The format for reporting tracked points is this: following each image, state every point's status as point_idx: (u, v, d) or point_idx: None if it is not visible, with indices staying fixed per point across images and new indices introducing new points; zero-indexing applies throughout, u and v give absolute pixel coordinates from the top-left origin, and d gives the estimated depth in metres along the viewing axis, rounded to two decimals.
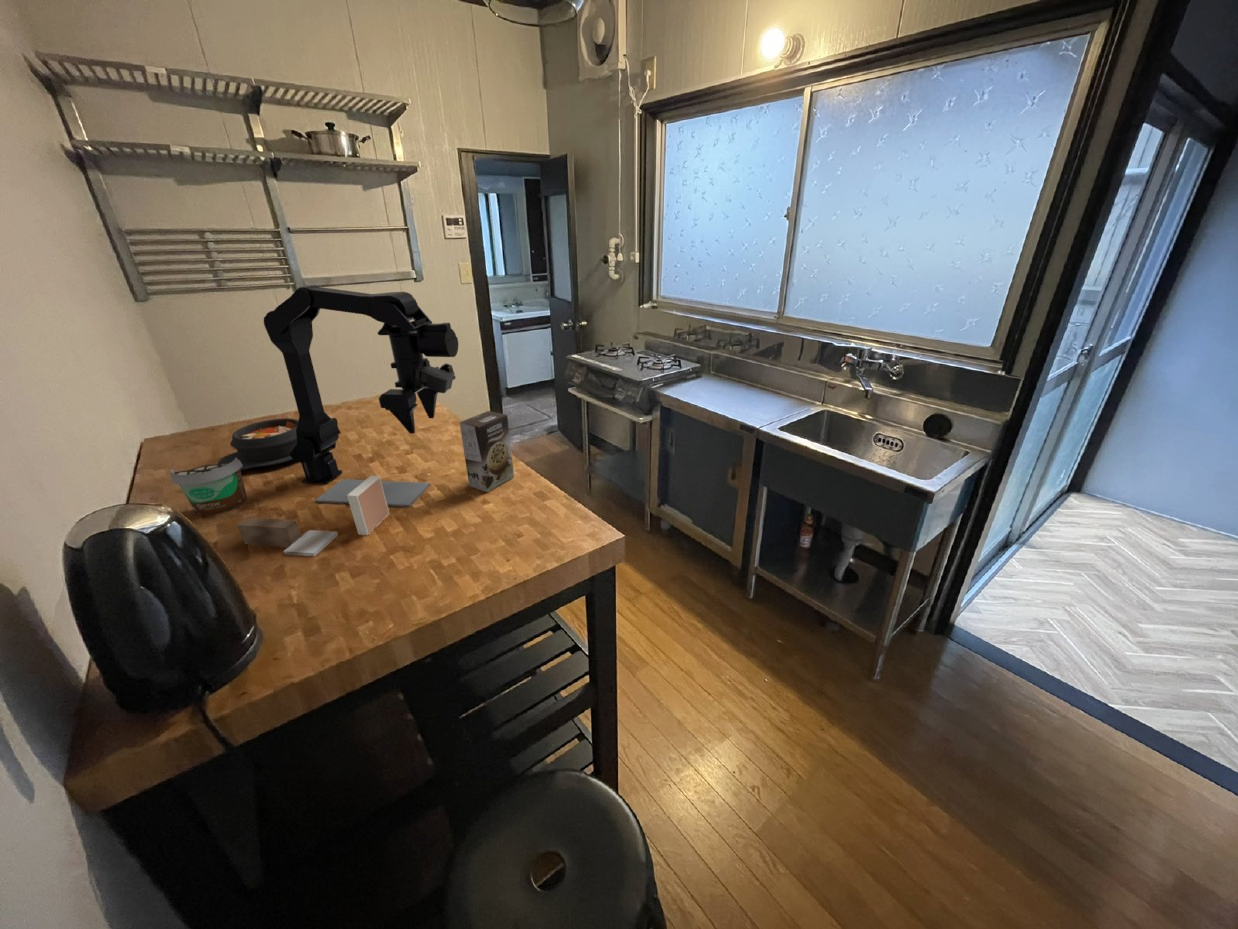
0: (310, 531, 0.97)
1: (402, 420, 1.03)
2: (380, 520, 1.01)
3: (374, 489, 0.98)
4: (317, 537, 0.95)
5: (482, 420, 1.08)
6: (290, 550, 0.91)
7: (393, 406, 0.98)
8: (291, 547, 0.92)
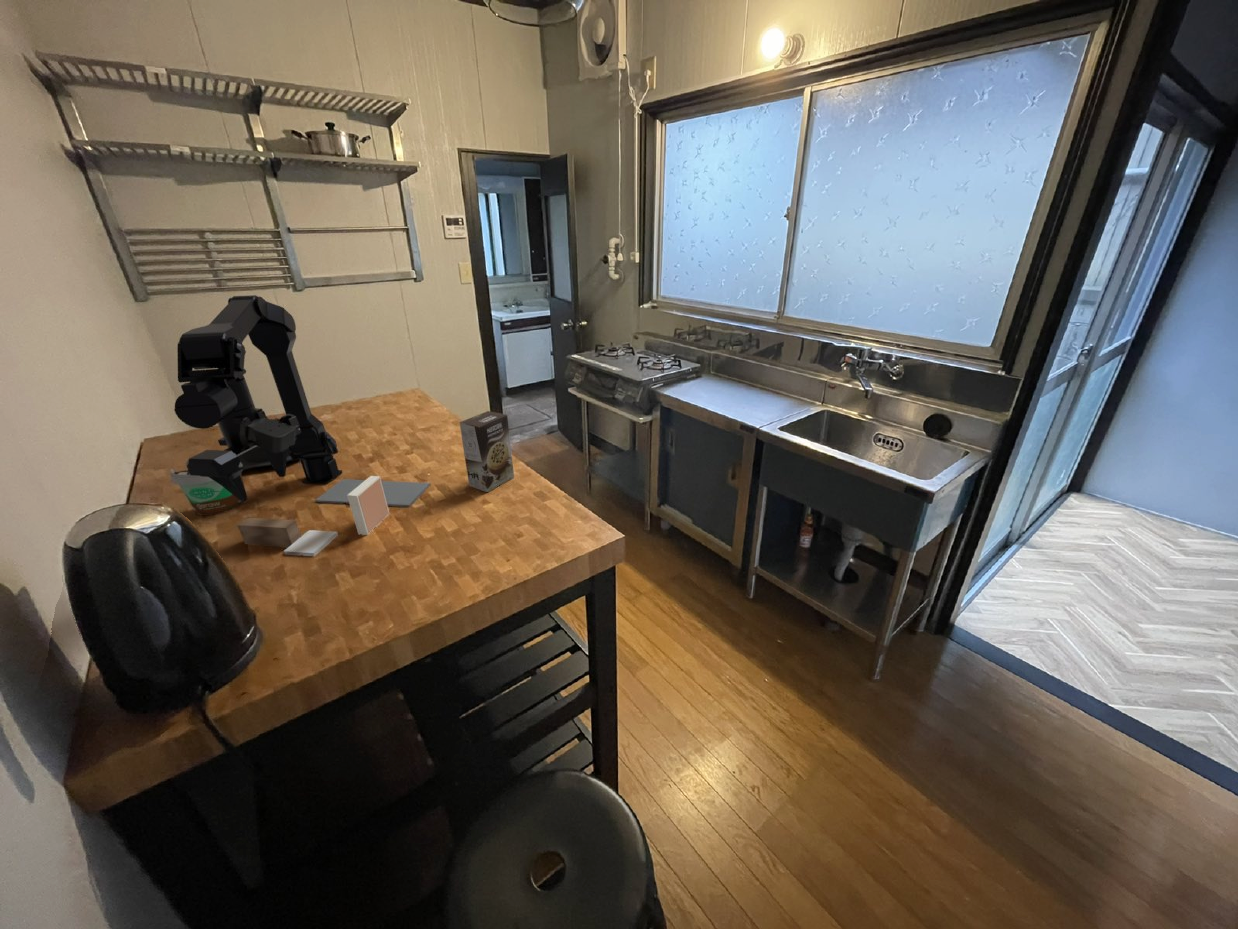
0: (310, 531, 0.97)
1: (227, 486, 0.83)
2: (380, 520, 1.01)
3: (374, 489, 0.98)
4: (317, 537, 0.95)
5: (482, 420, 1.08)
6: (290, 550, 0.91)
7: (204, 473, 0.78)
8: (291, 547, 0.92)
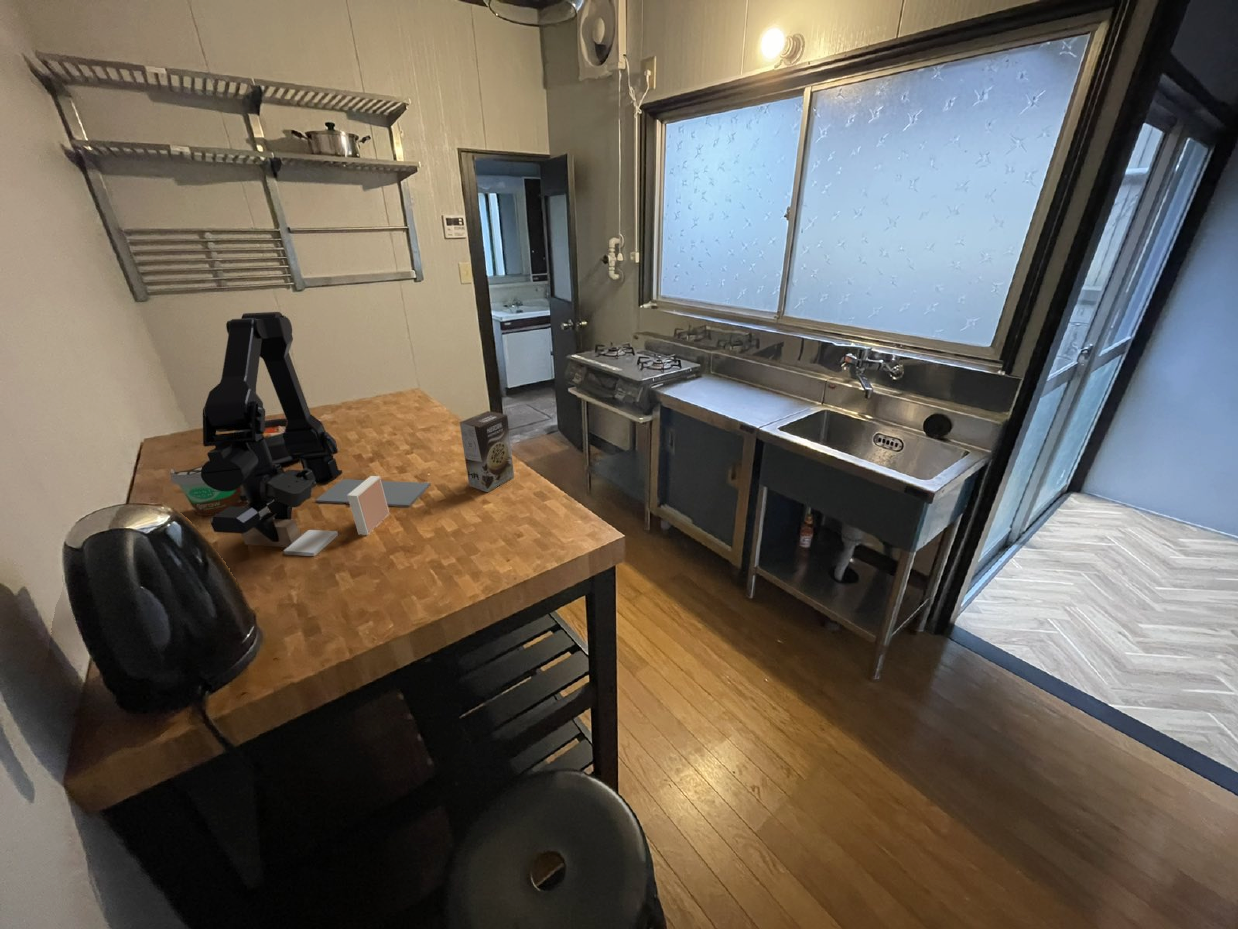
0: (310, 531, 0.97)
1: (261, 530, 0.91)
2: (380, 520, 1.01)
3: (374, 489, 0.98)
4: (317, 537, 0.95)
5: (482, 420, 1.08)
6: (290, 549, 0.91)
7: (227, 530, 0.83)
8: (291, 547, 0.92)
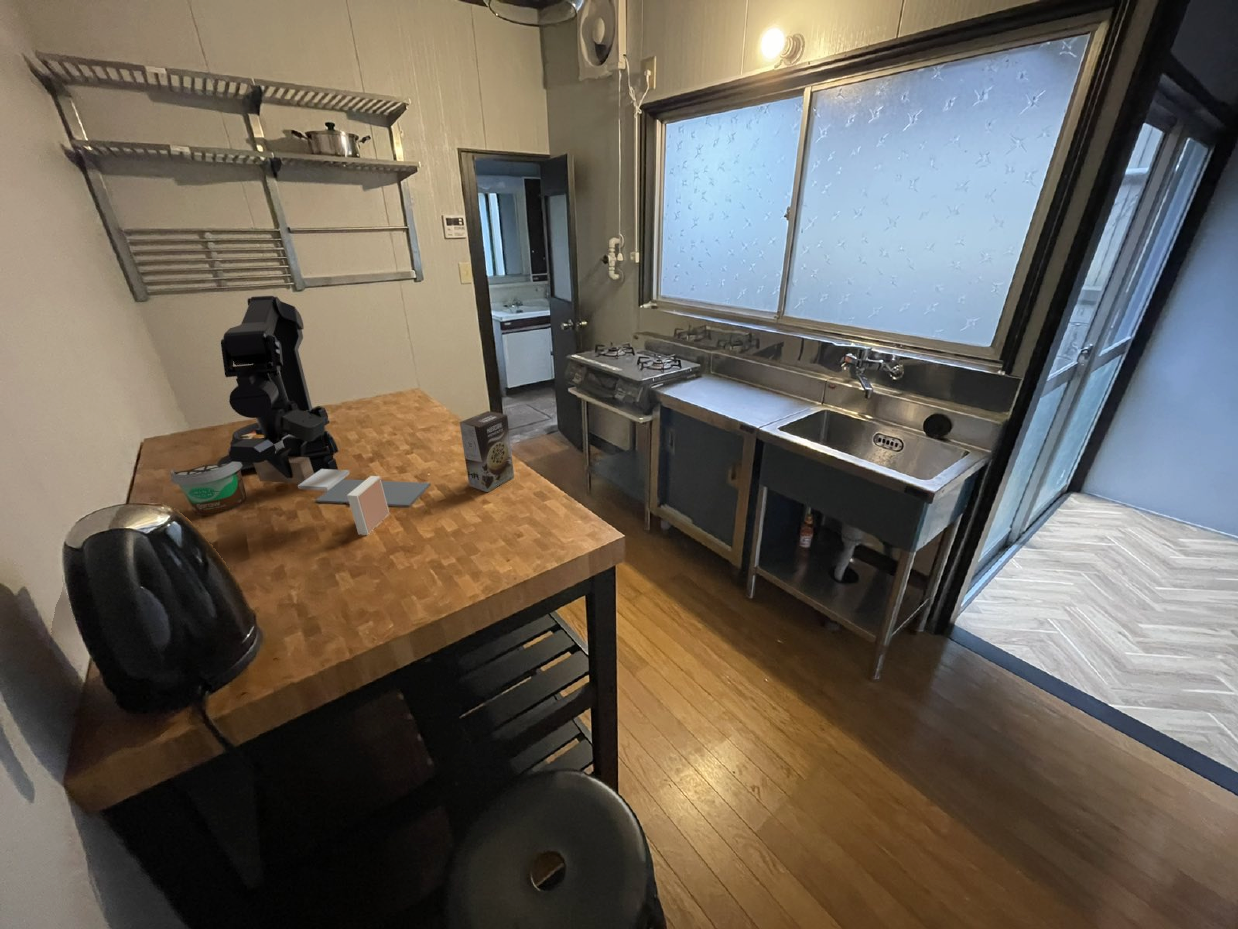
0: (322, 470, 1.00)
1: (275, 465, 0.94)
2: (380, 520, 1.01)
3: (374, 489, 0.98)
4: (329, 474, 0.98)
5: (482, 420, 1.08)
6: (304, 484, 0.94)
7: (244, 460, 0.86)
8: (304, 482, 0.95)
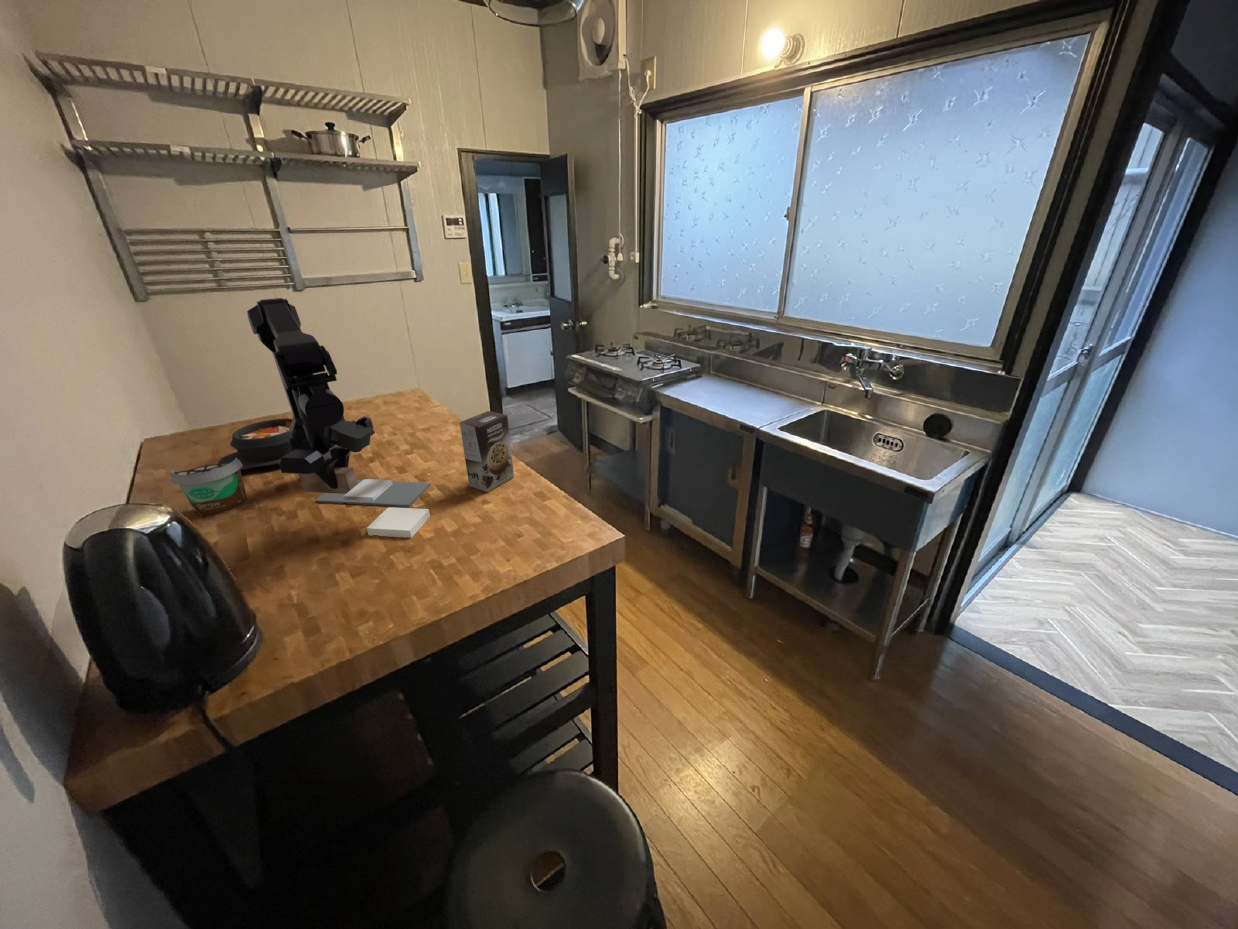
0: (365, 480, 1.00)
1: (321, 475, 0.93)
2: None
3: None
4: (373, 485, 0.98)
5: (482, 420, 1.08)
6: (349, 495, 0.94)
7: (294, 471, 0.85)
8: (350, 493, 0.95)
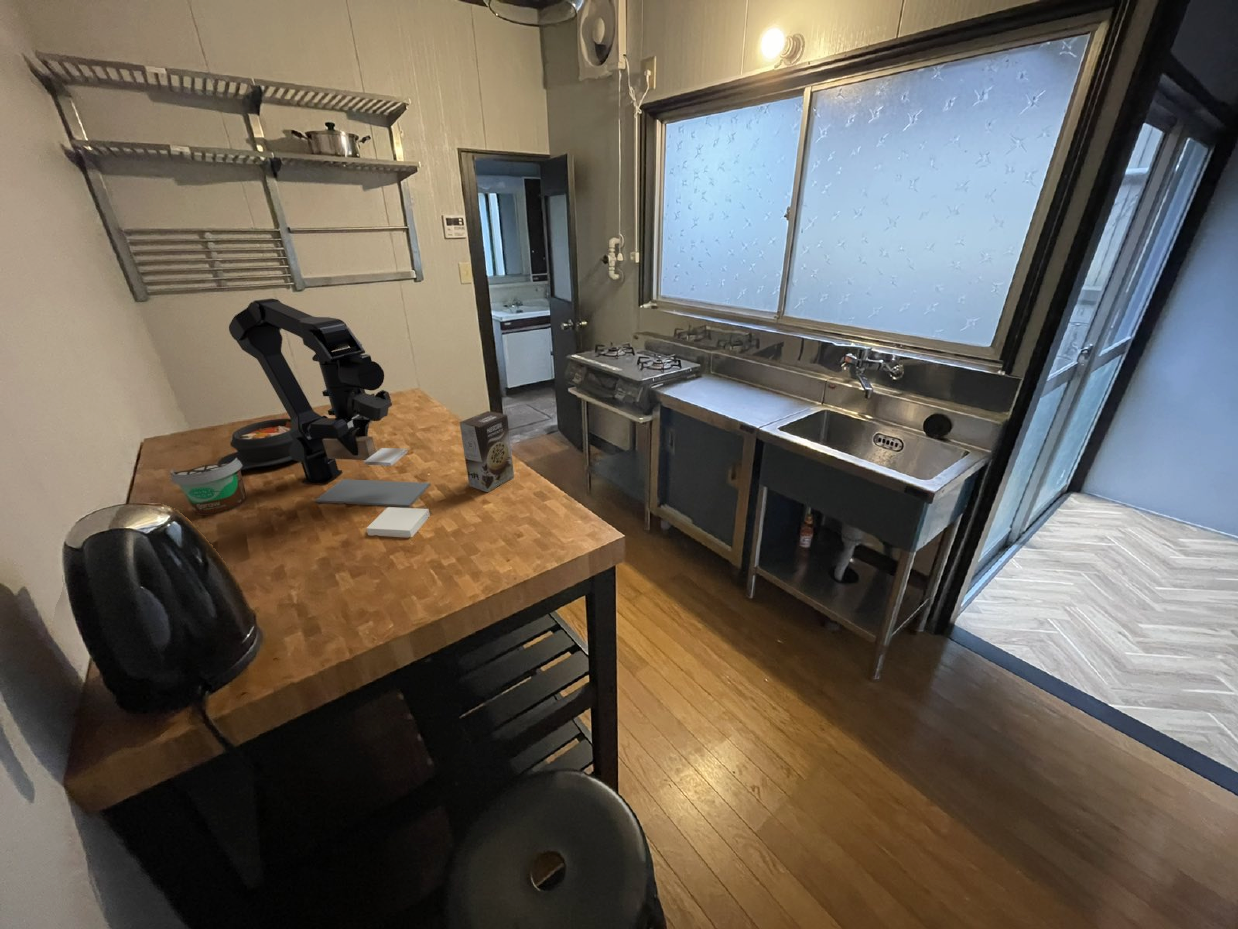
0: (383, 448, 1.10)
1: (344, 443, 1.04)
2: None
3: None
4: (390, 452, 1.08)
5: (482, 420, 1.08)
6: (369, 460, 1.05)
7: (322, 436, 0.96)
8: (369, 459, 1.05)
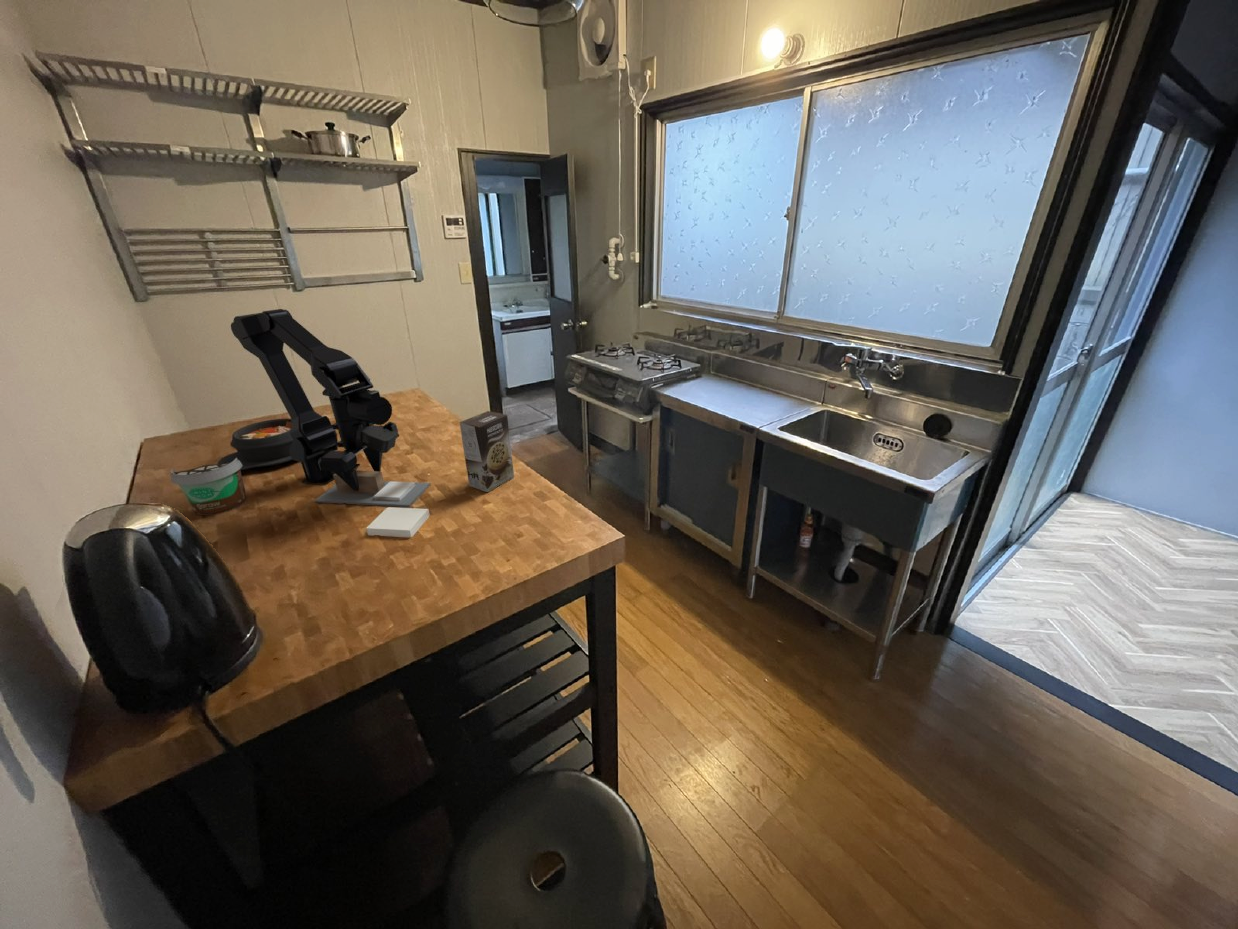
0: (391, 482, 1.14)
1: (345, 479, 1.05)
2: None
3: None
4: (399, 486, 1.12)
5: (482, 420, 1.08)
6: (378, 495, 1.08)
7: (332, 469, 0.99)
8: (379, 493, 1.09)
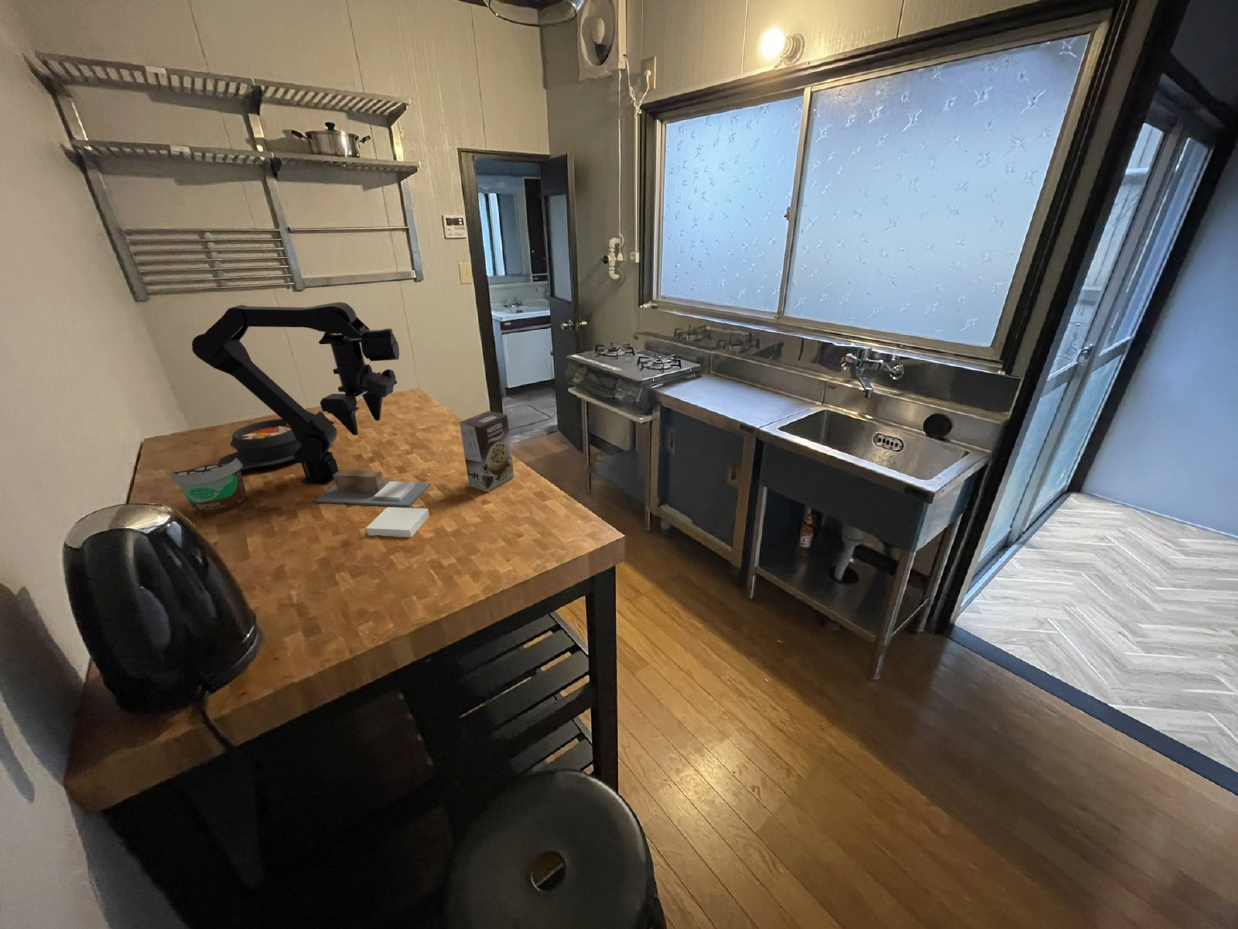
0: (391, 482, 1.14)
1: (345, 422, 1.10)
2: None
3: None
4: (399, 486, 1.12)
5: (482, 420, 1.08)
6: (378, 495, 1.08)
7: (333, 409, 1.04)
8: (379, 493, 1.09)
